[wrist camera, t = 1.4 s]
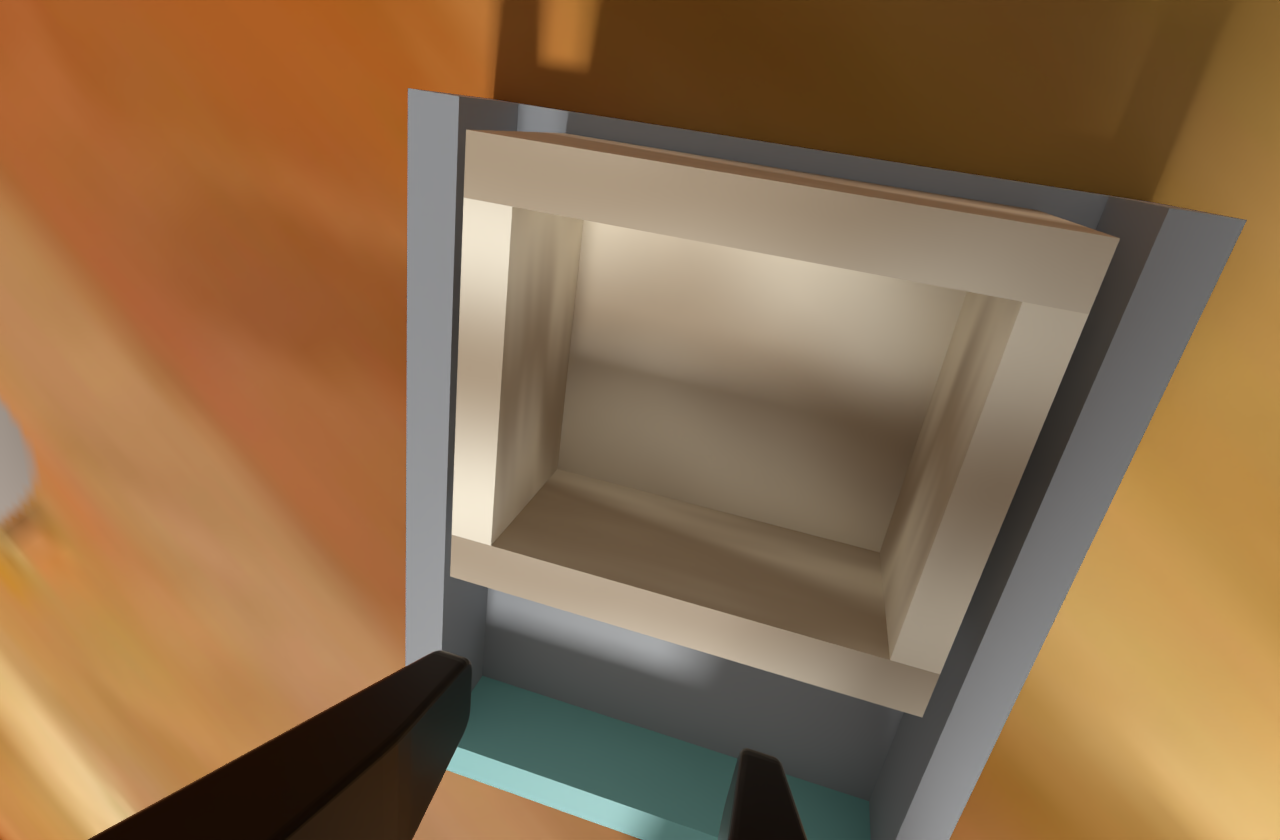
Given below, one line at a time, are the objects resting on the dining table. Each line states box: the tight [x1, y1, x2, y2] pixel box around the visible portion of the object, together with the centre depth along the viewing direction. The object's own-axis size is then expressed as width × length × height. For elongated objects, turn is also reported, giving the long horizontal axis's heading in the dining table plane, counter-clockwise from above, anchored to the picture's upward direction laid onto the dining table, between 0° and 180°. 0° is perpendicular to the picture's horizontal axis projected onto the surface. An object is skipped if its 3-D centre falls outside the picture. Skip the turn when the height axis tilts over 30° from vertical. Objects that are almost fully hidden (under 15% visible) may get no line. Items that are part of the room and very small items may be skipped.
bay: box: [406, 88, 1247, 840], centre depth 19 cm, size 20×16×4 cm
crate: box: [450, 130, 1120, 717], centre depth 16 cm, size 10×11×5 cm
